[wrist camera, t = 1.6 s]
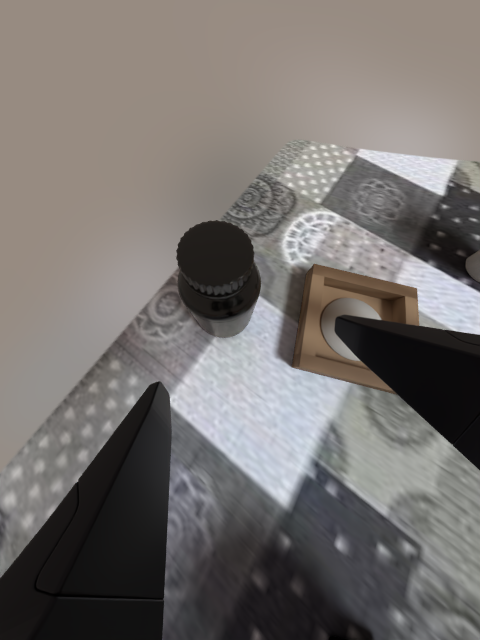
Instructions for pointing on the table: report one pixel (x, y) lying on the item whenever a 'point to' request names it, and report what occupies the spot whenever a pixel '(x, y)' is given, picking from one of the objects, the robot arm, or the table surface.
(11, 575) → the robot arm
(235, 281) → the supplement bottle
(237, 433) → the table surface
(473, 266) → the house plant
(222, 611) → the table surface
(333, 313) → the holder
